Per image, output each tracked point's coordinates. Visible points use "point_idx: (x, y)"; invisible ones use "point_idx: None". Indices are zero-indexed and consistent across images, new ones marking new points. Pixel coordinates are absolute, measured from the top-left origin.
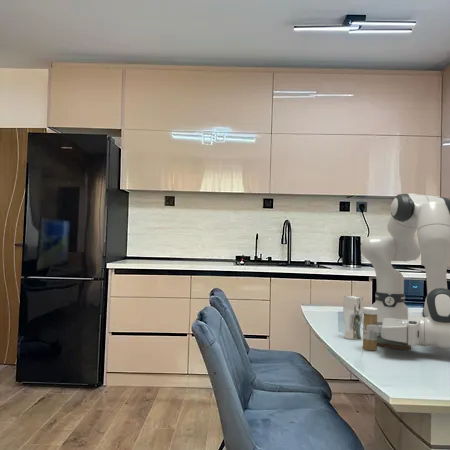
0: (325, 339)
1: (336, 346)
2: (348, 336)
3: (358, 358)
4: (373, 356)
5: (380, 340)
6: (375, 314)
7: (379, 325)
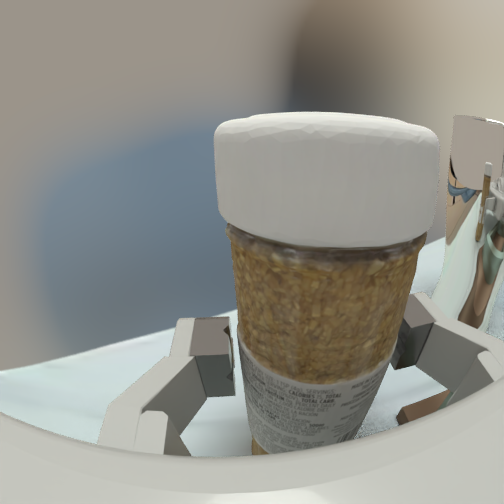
0: None
1: None
2: None
3: (60, 402)
4: None
5: None
6: (261, 234)
7: (460, 386)
